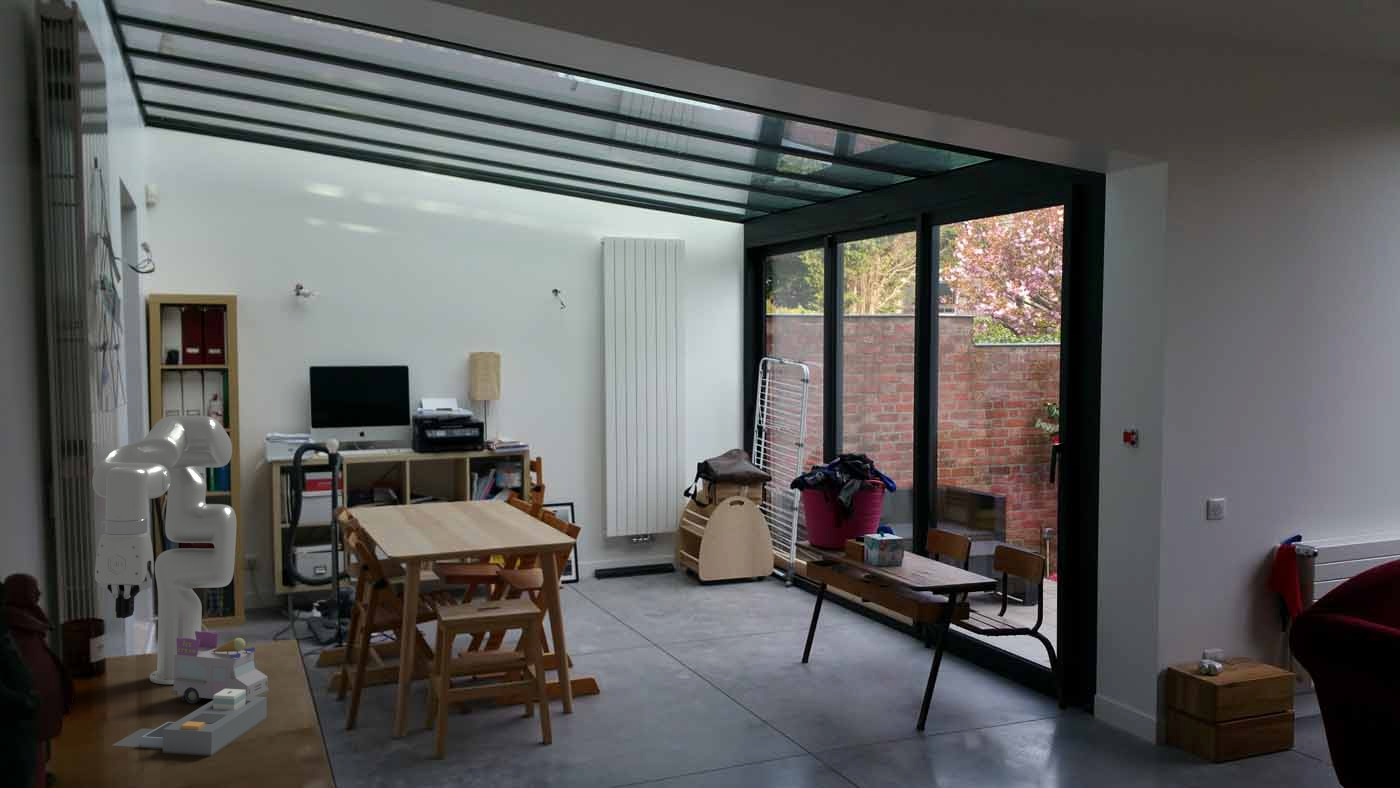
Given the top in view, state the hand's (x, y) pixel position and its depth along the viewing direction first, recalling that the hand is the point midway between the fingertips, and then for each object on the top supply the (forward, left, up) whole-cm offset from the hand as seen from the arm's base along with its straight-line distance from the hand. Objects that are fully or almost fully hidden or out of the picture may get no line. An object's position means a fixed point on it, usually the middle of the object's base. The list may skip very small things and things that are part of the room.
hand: (124, 616), depth 212 cm
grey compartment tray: (-4, +18, -25) cm, 31 cm away
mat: (0, +7, -25) cm, 26 cm away
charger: (-9, +18, -24) cm, 32 cm away
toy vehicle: (-25, +7, -25) cm, 36 cm away
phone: (0, +9, -25) cm, 27 cm away
